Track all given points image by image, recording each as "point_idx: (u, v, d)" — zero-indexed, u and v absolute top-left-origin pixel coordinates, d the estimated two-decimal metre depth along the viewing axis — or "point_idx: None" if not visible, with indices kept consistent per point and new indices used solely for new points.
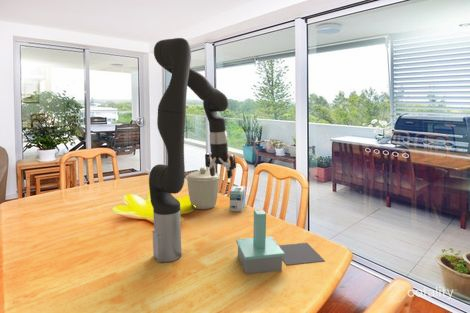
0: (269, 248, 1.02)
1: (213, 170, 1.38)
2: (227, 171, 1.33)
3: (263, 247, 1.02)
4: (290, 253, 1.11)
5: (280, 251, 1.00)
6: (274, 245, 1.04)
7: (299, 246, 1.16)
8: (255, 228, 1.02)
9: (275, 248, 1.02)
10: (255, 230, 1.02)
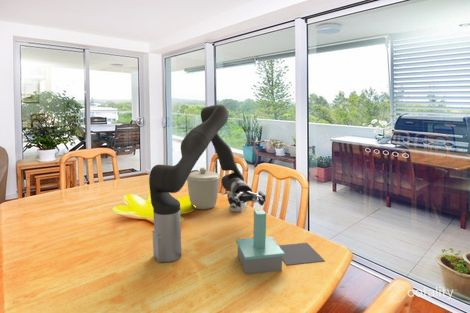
0: (269, 248, 1.02)
1: None
2: (259, 197, 1.16)
3: (263, 247, 1.02)
4: (290, 253, 1.11)
5: (280, 251, 1.00)
6: (274, 245, 1.04)
7: (299, 246, 1.16)
8: (255, 228, 1.02)
9: (275, 248, 1.02)
10: (255, 230, 1.02)
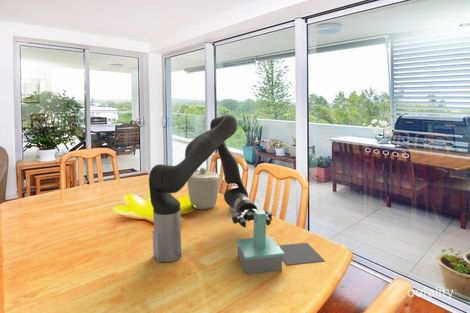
0: (269, 248, 1.02)
1: None
2: None
3: (263, 247, 1.02)
4: (290, 253, 1.11)
5: (280, 251, 1.00)
6: (274, 245, 1.04)
7: (299, 246, 1.16)
8: (255, 228, 1.02)
9: (275, 248, 1.02)
10: (255, 230, 1.02)
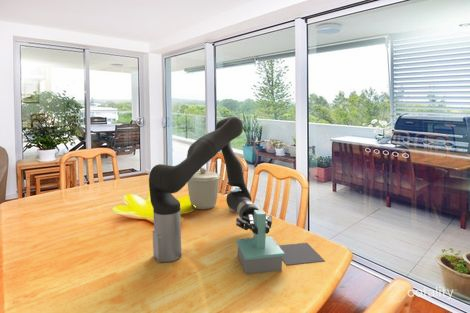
0: (269, 248, 1.02)
1: None
2: None
3: (263, 247, 1.02)
4: (290, 253, 1.11)
5: (280, 251, 1.00)
6: (274, 245, 1.04)
7: (299, 246, 1.16)
8: None
9: (275, 248, 1.02)
10: None
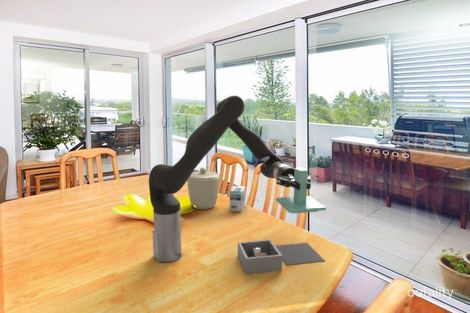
0: (310, 204, 1.06)
1: None
2: None
3: (304, 203, 1.06)
4: (290, 253, 1.11)
5: (321, 206, 1.04)
6: (314, 202, 1.09)
7: (299, 246, 1.16)
8: None
9: (316, 204, 1.06)
10: None
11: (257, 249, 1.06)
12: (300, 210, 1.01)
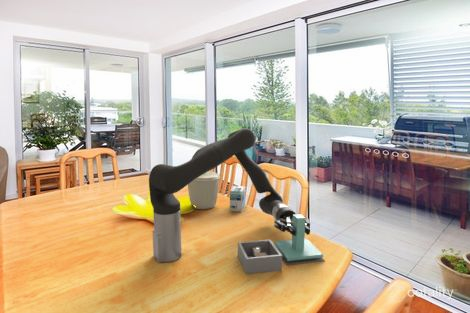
0: (307, 250, 1.09)
1: None
2: None
3: (302, 249, 1.09)
4: None
5: (318, 253, 1.07)
6: (311, 247, 1.11)
7: None
8: None
9: (313, 250, 1.09)
10: None
11: (257, 249, 1.06)
12: (298, 258, 1.04)
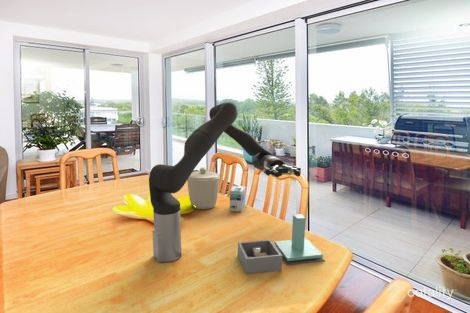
0: (307, 250, 1.09)
1: None
2: (295, 169, 1.21)
3: (302, 249, 1.09)
4: None
5: (318, 253, 1.07)
6: (311, 247, 1.11)
7: None
8: (295, 231, 1.09)
9: (313, 250, 1.09)
10: (294, 233, 1.10)
11: (257, 249, 1.06)
12: (298, 258, 1.04)
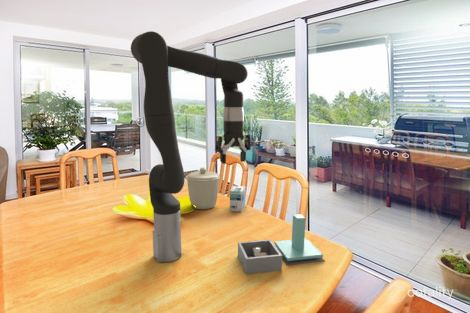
0: (307, 250, 1.09)
1: None
2: (244, 153, 1.18)
3: (302, 249, 1.09)
4: None
5: (318, 253, 1.07)
6: (311, 247, 1.11)
7: None
8: (295, 231, 1.09)
9: (313, 250, 1.09)
10: (294, 233, 1.10)
11: (257, 249, 1.06)
12: (298, 258, 1.04)
